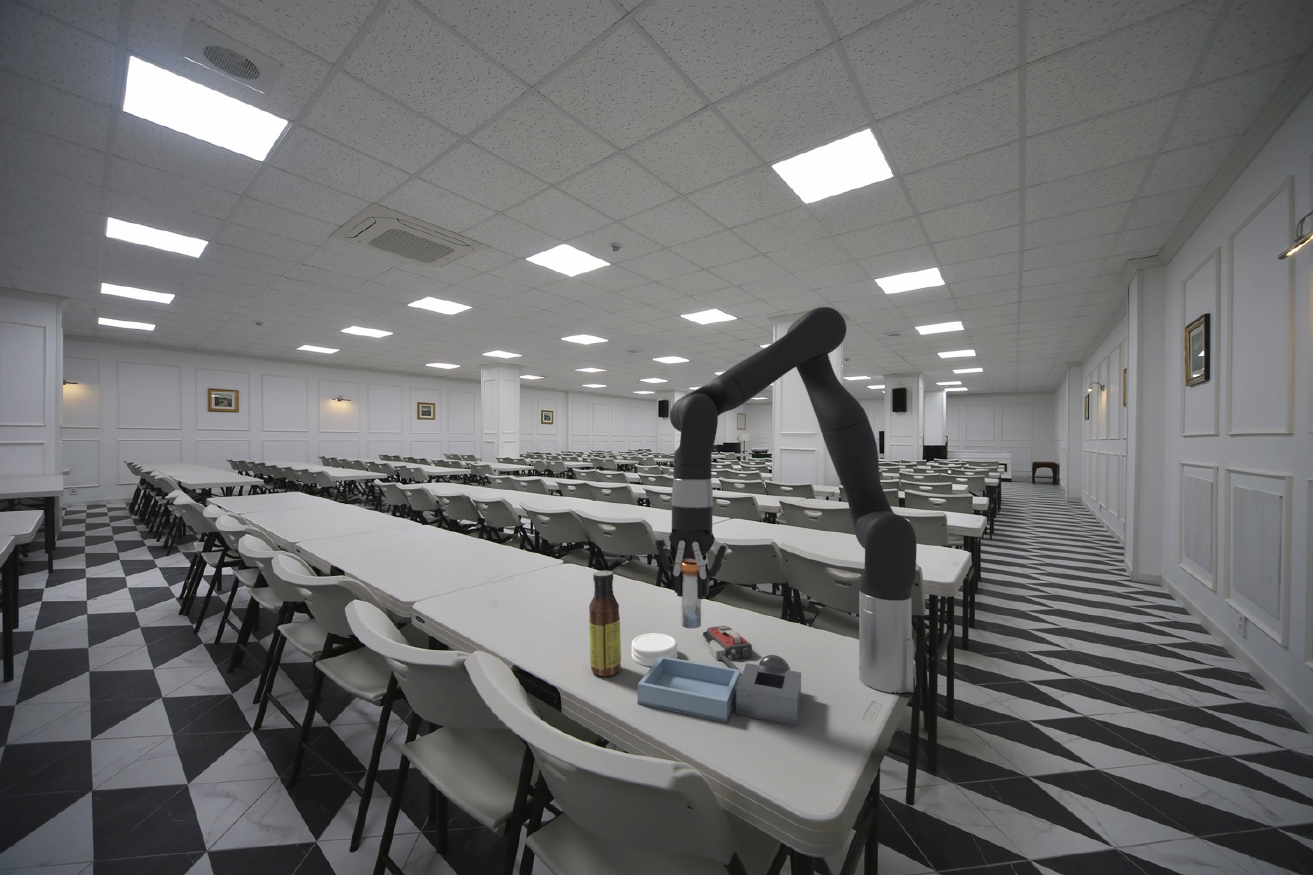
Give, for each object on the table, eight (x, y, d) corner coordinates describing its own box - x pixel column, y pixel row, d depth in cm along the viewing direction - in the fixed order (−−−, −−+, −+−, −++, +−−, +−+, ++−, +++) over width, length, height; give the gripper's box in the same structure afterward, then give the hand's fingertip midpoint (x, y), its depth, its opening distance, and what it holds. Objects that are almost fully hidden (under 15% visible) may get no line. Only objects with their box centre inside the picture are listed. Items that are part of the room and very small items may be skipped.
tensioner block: (801, 691, 89) (801, 658, 89) (797, 727, 77) (797, 690, 78) (748, 681, 92) (748, 650, 92) (736, 714, 81) (736, 679, 81)
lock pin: (705, 622, 88) (706, 560, 89) (699, 630, 84) (700, 565, 85) (683, 618, 90) (683, 558, 90) (676, 627, 86) (676, 563, 86)
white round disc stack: (685, 654, 105) (685, 638, 105) (661, 672, 96) (661, 655, 96) (647, 644, 110) (648, 628, 110) (622, 660, 102) (622, 643, 102)
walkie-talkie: (694, 640, 113) (733, 679, 94) (694, 621, 113) (733, 657, 94) (728, 636, 116) (772, 673, 97) (728, 617, 116) (772, 651, 97)
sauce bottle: (621, 663, 100) (622, 568, 100) (620, 678, 93) (621, 576, 94) (590, 663, 99) (591, 568, 100) (586, 678, 93) (587, 576, 93)
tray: (740, 688, 90) (740, 669, 90) (726, 722, 78) (726, 701, 78) (660, 673, 95) (660, 656, 95) (637, 703, 84) (637, 683, 84)
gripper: (734, 502, 89) (733, 595, 88) (663, 499, 94) (662, 586, 93) (725, 507, 82) (724, 608, 81) (649, 503, 87) (648, 598, 86)
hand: (691, 596), depth 87 cm, fingers closed on lock pin, 3 cm apart
